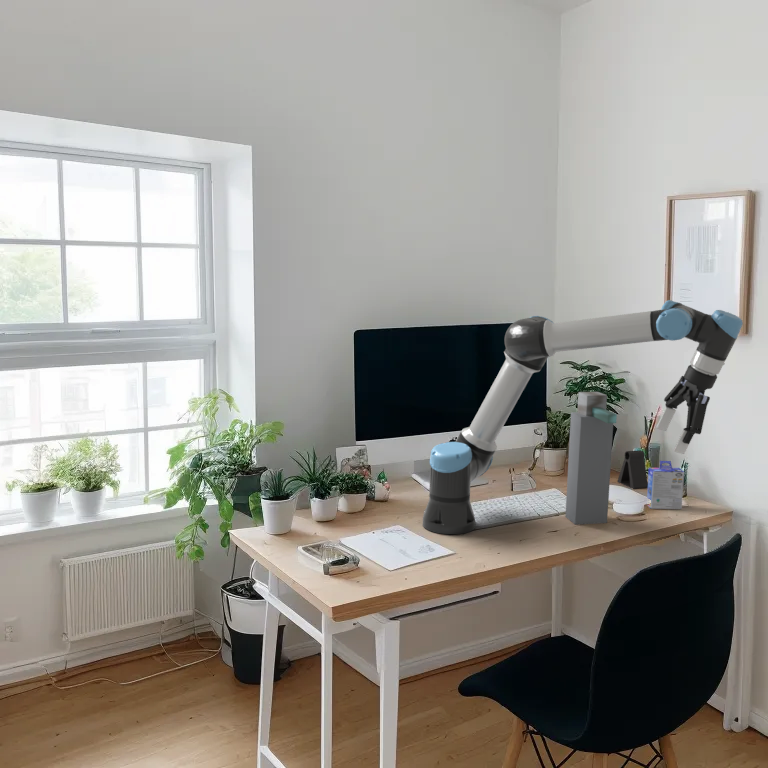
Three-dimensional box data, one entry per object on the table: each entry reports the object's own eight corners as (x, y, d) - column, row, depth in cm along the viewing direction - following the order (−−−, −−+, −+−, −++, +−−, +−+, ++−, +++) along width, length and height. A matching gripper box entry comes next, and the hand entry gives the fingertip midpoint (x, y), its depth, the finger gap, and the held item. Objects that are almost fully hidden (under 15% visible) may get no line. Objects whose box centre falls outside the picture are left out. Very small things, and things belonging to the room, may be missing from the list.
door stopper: (617, 482, 273) (619, 448, 271) (631, 480, 275) (633, 447, 273) (633, 489, 265) (635, 454, 263) (648, 487, 267) (650, 453, 265)
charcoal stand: (575, 524, 228) (581, 417, 223) (565, 516, 235) (571, 412, 230) (607, 522, 230) (613, 416, 225) (596, 515, 237) (602, 411, 232)
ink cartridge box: (676, 504, 249) (679, 460, 247) (682, 509, 243) (686, 464, 241) (645, 503, 249) (648, 459, 247) (650, 509, 244) (654, 464, 241)
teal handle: (601, 423, 215) (603, 402, 214) (577, 412, 230) (578, 392, 229) (622, 423, 216) (623, 401, 215) (596, 411, 231) (597, 391, 231)
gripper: (737, 392, 190) (700, 466, 198) (698, 356, 213) (666, 423, 221) (709, 384, 190) (673, 459, 197) (673, 349, 213) (642, 417, 220)
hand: (669, 440), depth 209 cm, fingers open, 13 cm apart
